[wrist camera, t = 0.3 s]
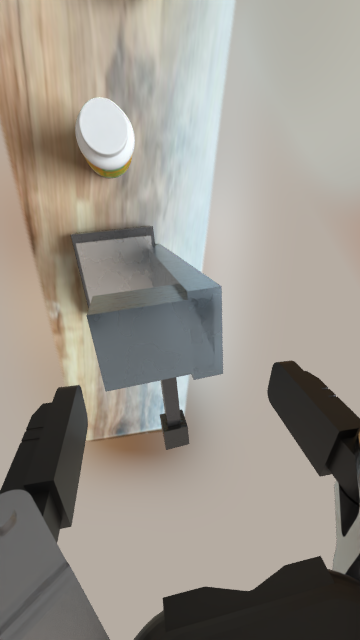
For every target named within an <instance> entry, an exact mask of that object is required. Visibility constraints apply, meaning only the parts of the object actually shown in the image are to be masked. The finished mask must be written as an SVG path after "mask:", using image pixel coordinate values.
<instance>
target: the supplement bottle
mask: <svg viewBox="0 0 360 640" xmlns="http://www.w3.org/2000/svg"><path fill="white" fill-rule="evenodd" d="M75 133H76V139H77V143H78V146H79V148H80V150H81V152H82V154H83V156H84V157H85V159H86V161H87V162H88V164H89V166H90V167H91V168H92V169H93V170H94V171H95V172H96V173H97V174H99V175H101V176H103V177H106V178H116V177H119V176H121V175H122V174H124V173H125V172H126V171H127V169H128V167H129V165H130V163H131V159H132V154H133V150H134V143H135V139H134V132H133V128H132V125H131V123H130V121H129V119H128V117H127V116H126V115H125V113H124V112H123V111H122V110H121V109H120V108H119V107H118V106H117V105H116V104H115V103H114V102H113V101H111V100H109V99H106V98H102V97H96V98H93V99H90V100H89V101H87V102H86V103H85V104H84V106H83V107H82V109H81V111H80V113H79V115H78V117H77V120H76V126H75Z"/></svg>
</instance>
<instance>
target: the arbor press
mask: <svg viewBox="0 0 360 640" xmlns="http://www.w3.org/2000/svg"><path fill="white" fill-rule="evenodd" d="M71 238H72V242H73V246H74V250H75V255H76V259H77V263H78V267H79V271H80V275H81V279H82V283H83V287H84V291H85V295H86V300H87V304H88V308H89V310H88V313H87V319H88V323H89V327H90V331H91V335H92V339H93V343H94V347H95V351H96V355H97V359H98V363H99V367H100V371H101V375H102V379H103V383H104V387H105V391H111V390H116V389H121V388H126V387H130V386H135V385H140V384H145V383H150V382H155V381H159V380H161V387H162V394H163V401H164V408H165V414H161V415H160V419H161V425H162V432H163V437H164V442H165V447H166V450H168V449H172V448H175V447H179V446H183V445H187V444H189V437H188V427H187V423H186V420H185V417H184V414H183V411H182V410H180V409H179V400H178V391H177V381H176V377H179V376H184V375H189V374H191V375H192V377H193V379H194V380H196V379H200V378H205V377H210V376H214V375H219V374H223V352H222V351H223V350H222V295H221V294H222V291H221V286H220V285H219V284H217V283H216V282H214V281H213V280H212V279H210V278H209V277H207V276H206V275H204V274H203V273H201V272H200V271H199V270H197V269H196V268H194V267H193V266H191V265H190V264H188V263H187V262H185V261H184V260H183V259H181V258H180V257H178V256H177V255H175V254H174V253H172V252H171V251H169V250H168V249H167V248H165V247H164V246H162V245H161V244H159V245H155V241H154V232H153V226H145V227H135V228H125V229H115V230H105V231H95V232H85V233H74V234H71Z"/></svg>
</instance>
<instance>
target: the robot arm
mask: <svg viewBox="0 0 360 640" xmlns="http://www.w3.org/2000/svg"><path fill="white" fill-rule="evenodd" d="M268 398H269V401H270V403H271V405H272V406H273V408H274V409H275V411H276V412H277V413H278V415H279V417H280V418H281V420H282V421H283V422H284V424H285V425H286V427H287V429H288V430H289V431H290V433H291V435H292V436H293V437H294V439H295V440H296V442H297V443H298V445H299V446H300V448H301V449H302V451H303V452H304V454H305V455H306V457H307V458H308V460H309V461H310V462H311V464H312V466H313V467H314V469H315V470H316V472H317V473H318V474H319V476H325V475H330V474H333V476H334V477H335V478H336V481H335V484H334V492H335V514H336V536H337V537H336V539H337V540H336V550H335V554H334V559H333V569H332V570H330V569H327V568H326V566H325V564H324V562H323V560H322V558H321V557H320V556H319V557H315V558H311V559H307V560H303V561H300V562H296V563H292V564H288V565H285V566H283V567H282V568H281V569H280V570H278V571H277V572H276V573H274V574H273V575H272V576H270V577H269V578H268V579H267V580H265V581H264V582H263V583H262V584H260V585H259V586H258V587H256V588H255V589H253V590H251V591H240V590H230V589H221V588H212V587H202V588H198V589H194V590H190V591H187V592H183V593H179V594H175V595H172V596H168V597H164V598H163V606H164V610H163V611H162V612H161V613H159V614H158V615H156V616H155V617H154V618H153V619H152V620H151V621H149V622H148V623H147V624H146V625H145V626H144V627H143V629H142V630H141V631H140V632H139V633H138V635H137V636H136V637H135V638H134V640H360V418H359V417H357V415H356V414H354V412H353V411H351V409H350V408H348V407H347V406H346V405H345V404H344V403H343V402H342V401H341V400H340V399H339V398H338V397H336V395H335V394H334V393H333V392H332V391H331V390H330V389H328V387H327V386H326V385H325V384H324V383H323V382H322V381H321V380H320V379H319V378H317V377H316V376H314V375H312V374H311V373H309V372H307V371H303V370H302V369H301V368H300V367H299V366H298V364H296V363H295V362H294V361H284V362H276V363H274V365H273V367H272V371H271V376H270V381H269V385H268ZM87 427H88V419H87V412H86V407H85V403H84V399H83V394H82V390H81V387H80V385H76V386H68V387H59V388H58V389H57V391H56V393H55V397H54V399H53V402H52V403H46V404H42V405H41V406H40V408H39V409H38V410H37V411H36V412H35V413H34V414H33V415H32V417H31V419H30V422H29V424H28V427H27V429H26V432H25V433H24V436H23V438H22V443H20V445H19V448H18V450H17V452H16V455H15V457H14V460H13V462H12V464H11V467H10V469H9V471H8V474H7V476H6V478H5V481H4V483H3V486H2V488H1V490H0V640H110V639H109V637H108V635H107V634H106V632H105V630H104V628H103V626H102V624H101V622H100V621H99V619H98V617H97V615H96V613H95V612H94V609H93V608H92V606H91V604H90V602H89V600H88V598H87V596H86V595H85V593H84V591H83V589H82V588H81V585H80V583H79V582H78V580H77V578H76V576H75V574H74V573H73V571H72V569H71V567H70V565H69V564H68V563H67V561H66V559H65V558H64V556H63V554H62V552H61V550H60V549H59V547H58V545H57V541H58V535H59V530H60V529H62V528H66V527H71V525H72V519H73V513H74V506H75V501H76V494H77V488H78V483H79V477H80V470H81V464H82V459H83V453H84V447H85V441H86V435H87Z"/></svg>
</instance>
